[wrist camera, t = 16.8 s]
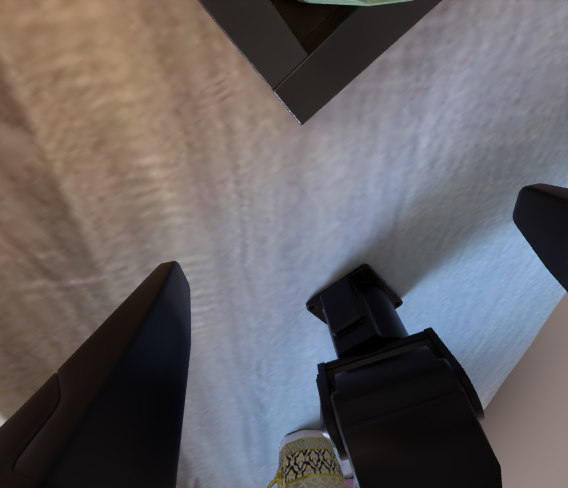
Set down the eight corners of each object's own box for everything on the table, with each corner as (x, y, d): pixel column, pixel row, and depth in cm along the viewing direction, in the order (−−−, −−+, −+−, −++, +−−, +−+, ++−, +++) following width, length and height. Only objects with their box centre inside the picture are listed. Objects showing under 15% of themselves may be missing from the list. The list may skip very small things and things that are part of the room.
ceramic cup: (351, 423, 44) (377, 517, 36) (324, 455, 49) (341, 544, 41) (256, 421, 40) (262, 525, 32) (238, 456, 46) (239, 553, 38)
